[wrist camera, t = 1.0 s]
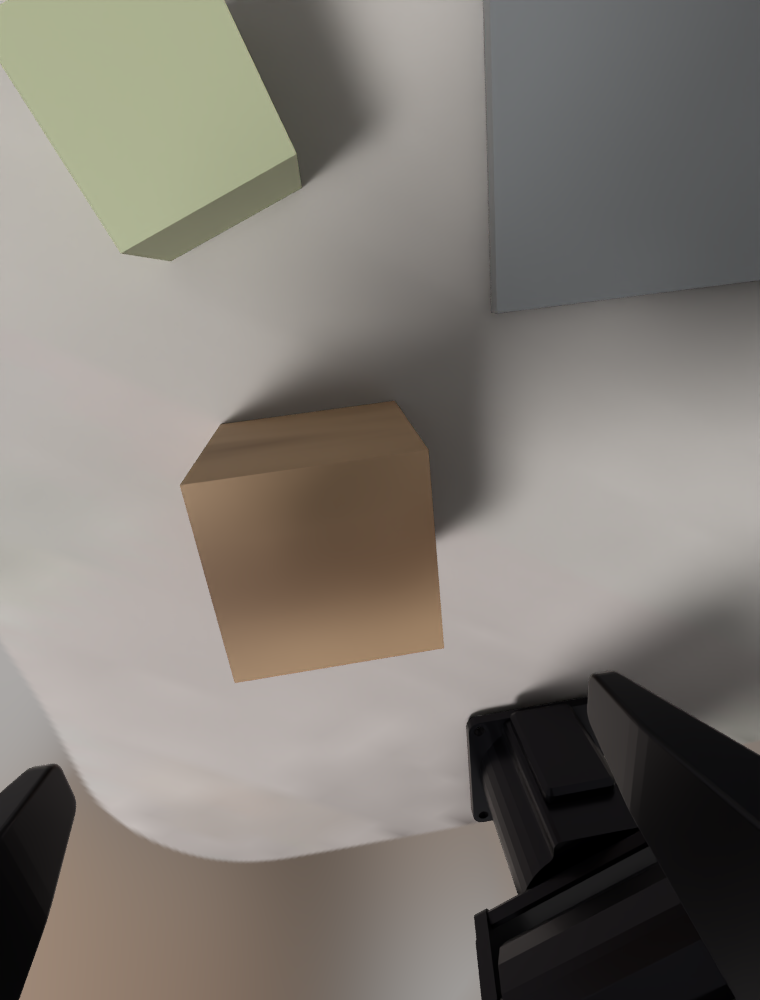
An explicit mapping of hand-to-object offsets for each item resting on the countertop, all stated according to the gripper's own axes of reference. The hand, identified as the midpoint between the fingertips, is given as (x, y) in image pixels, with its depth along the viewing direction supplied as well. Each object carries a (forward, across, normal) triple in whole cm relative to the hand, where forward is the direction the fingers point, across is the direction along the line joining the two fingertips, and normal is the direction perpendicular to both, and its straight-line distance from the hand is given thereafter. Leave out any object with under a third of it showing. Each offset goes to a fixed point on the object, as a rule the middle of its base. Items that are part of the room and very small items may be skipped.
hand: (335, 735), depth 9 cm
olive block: (+11, +2, -11) cm, 16 cm away
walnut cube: (+11, 0, 0) cm, 11 cm away
